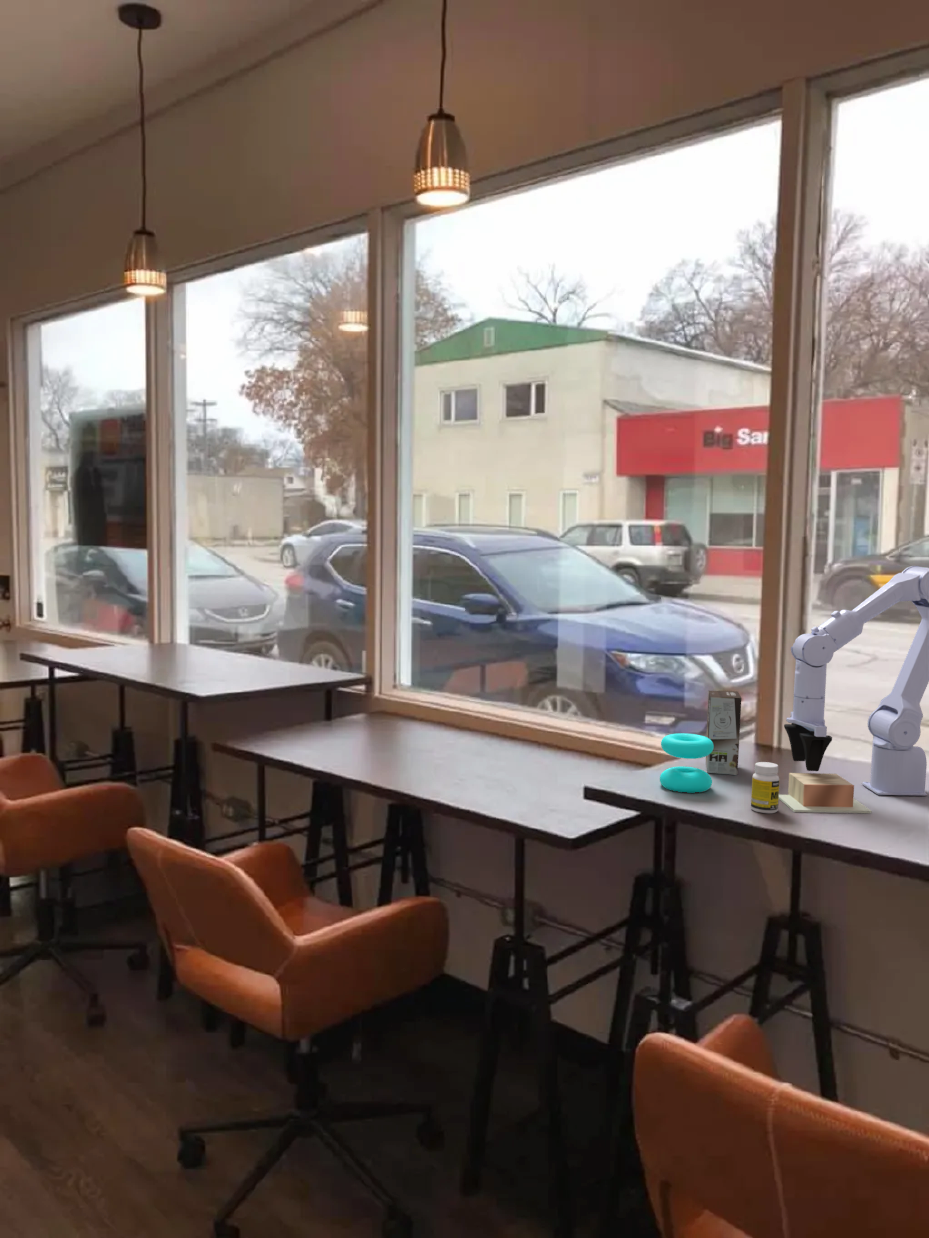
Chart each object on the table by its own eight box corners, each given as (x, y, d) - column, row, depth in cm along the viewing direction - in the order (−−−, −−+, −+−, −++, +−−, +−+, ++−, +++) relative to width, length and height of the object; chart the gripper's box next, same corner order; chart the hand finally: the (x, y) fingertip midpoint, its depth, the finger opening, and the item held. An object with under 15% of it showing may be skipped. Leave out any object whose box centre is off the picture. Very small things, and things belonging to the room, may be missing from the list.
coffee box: (738, 775, 203) (742, 697, 202) (706, 773, 205) (709, 696, 203) (735, 765, 212) (739, 690, 211) (704, 763, 214) (707, 689, 212)
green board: (849, 797, 188) (849, 795, 188) (871, 813, 178) (871, 810, 178) (776, 796, 188) (776, 794, 188) (794, 812, 178) (794, 809, 178)
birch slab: (836, 773, 189) (854, 785, 180) (835, 794, 189) (852, 807, 181) (789, 772, 189) (804, 784, 180) (788, 793, 189) (803, 806, 180)
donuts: (656, 731, 197) (706, 732, 198) (654, 780, 198) (704, 781, 198) (667, 742, 187) (719, 743, 188) (665, 794, 188) (717, 795, 189)
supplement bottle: (773, 815, 176) (776, 769, 175) (747, 810, 178) (749, 765, 178) (780, 809, 180) (783, 763, 179) (754, 804, 183) (757, 759, 182)
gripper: (776, 689, 198) (773, 756, 200) (801, 703, 184) (797, 774, 185) (811, 690, 198) (808, 756, 200) (839, 703, 184) (835, 775, 185)
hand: (805, 765), depth 192 cm, fingers open, 7 cm apart
